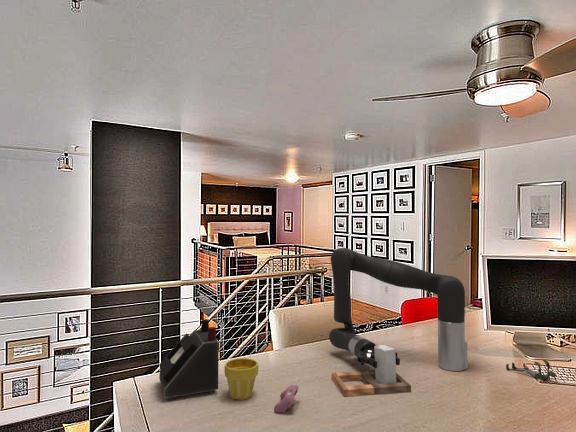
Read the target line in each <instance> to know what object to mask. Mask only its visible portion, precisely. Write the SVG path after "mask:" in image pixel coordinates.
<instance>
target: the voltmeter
mask: <svg viewBox="0 0 576 432" xmlns="http://www.w3.org/2000/svg"><path fill="white" fill-rule="evenodd" d="M209 321H210V320H209V319H201V327H200V329H195V330H194V329H193V331H192V332H191V334H188V333H185V334H184V335H183V336H182V338H181V339H180V340H179V341H178V342H177V343H176V344H175V346H173V348H172V349H171V350H170V351H169V352H168V353H167V355H166V356H165V357H164V359H163V360H162V361H161V362H160V363H159V364H158V365H159V369H160V370H159V373H158V374H159V383H160V386H161V390H162V394H163V397H164V399H167V400H168V401H173V400H175V399H176V398H175V397H179V396H181V397H182V396H186V395H187V396H188V395H192V394H193V395H194V394H198V393H204V392H206V394H213V393H214V391H216V390H219V352H220V351H219V343H220V342H219V340H218V339H217V330H216V329H217V328H216V326H210V322H209Z"/></svg>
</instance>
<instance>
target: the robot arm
mask: <svg viewBox="0 0 576 432" xmlns="http://www.w3.org/2000/svg"><path fill="white" fill-rule="evenodd" d="M330 264H331V265H330V266H331V271H332V280H333V319H334V322H336V323H340V324H343V327H337V328H336V327H335V328H333V329H331V331H329V335H328V339H329V342H330V344H331V345H332V346H333V347H335V348H337V349H339V350H344V351H347V352H349V353H350V354H352V355H353V356H354V361H355V362H357V363H358V364H360V365H361V366H364V365H367V366H370V367H372V368H373V369H375V368H377V361H376V360H375V351H374V346H377V344H376V343H375V342H374V341H373V342H372V341H371V340H369V339H367V338H365V337H362V336H360V335H358V334H356V331H355V328H354V325H353V319H352V298H351V296H352V295H351V291H350V273H351V272H350V271H352V272H357V273H361V274H365V275H367V276H369V277H372V278H374V279H375V280H378V281H379V282H382V283H384V284H385V283H386V284H388V285H392V286H394V287H395V286H396V287H400V288H405V289H414V290H423V291H426V292H428V293H431V294H434V295H436V296H437V361H438V362H437V364H438V367H439V368H440V369H443V370H446V371H451V372H461V371H465V370H467V369H468V362H469V361H468V342H467V341H466V338H465V337H466V335H465V333H466V331H465V330H466V329H465V326H466V325H465V317H466V290H465V287H464V284H463V282H462V281H461V279H459V278H458V277H455V276H452V275H445V274H440V273H434V272H429V271H425V270H423V269H420V268H418V267H415V266H411V265H408V264H406V263H402V262H399V261H395V260H390V259H386V258H381V257H373V256H371V255H370V256H369V255H365V254H363V253H359V252H357V251H354V250H352V249H350V248H347V247H340V248H337V249H334V251H332V253H331V255H330ZM398 356H399V355H398V352H396V351H395V358H396V366H401V365H400V364H401V359H400V358H399V357H398Z"/></svg>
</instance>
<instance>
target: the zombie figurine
mask: <svg viewBox="0 0 576 432" xmlns="http://www.w3.org/2000/svg"><path fill="white" fill-rule="evenodd" d="M542 362H544V365H545V366H546V368H547V370H546V374H542V366H541V363H540V362H538V361H534V365H536V366H538V372H537V371H535V370H532V369H530V368H528V367H522V368H520V367H516V364H515V363H514V362H511V368H510V366H509V365H510V364H509V363H507V364H505V369H506V371H512V372H513V371H514V372H518V373H521V372H525V373H527V374H529V375H531V377H532V378H533V379H534V378H535V379H539V380H542V381H547V380H549V379H550V377H552V378H556V377H557V375H556V373H555V372H554V371H553V370H550V369H551V365H550V362H549V361H548V360H547V359H542Z"/></svg>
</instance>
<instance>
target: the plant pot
mask: <svg viewBox="0 0 576 432" xmlns="http://www.w3.org/2000/svg"><path fill="white" fill-rule="evenodd" d="M258 373H259V362H258V361H257V360H256V359H253V358H249V357H237V358H233V359H230V360H227V361H226V362H225V364H224V376H225V378H226V379H227V385H228V389H229V394H230V397H231V398H232V399H234V400H237V401H238V400H239V401H241V400H247V399H249V398H250V397H251V396H252V395H253V391H254V386H255V381H256V377H257V376H258Z"/></svg>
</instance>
